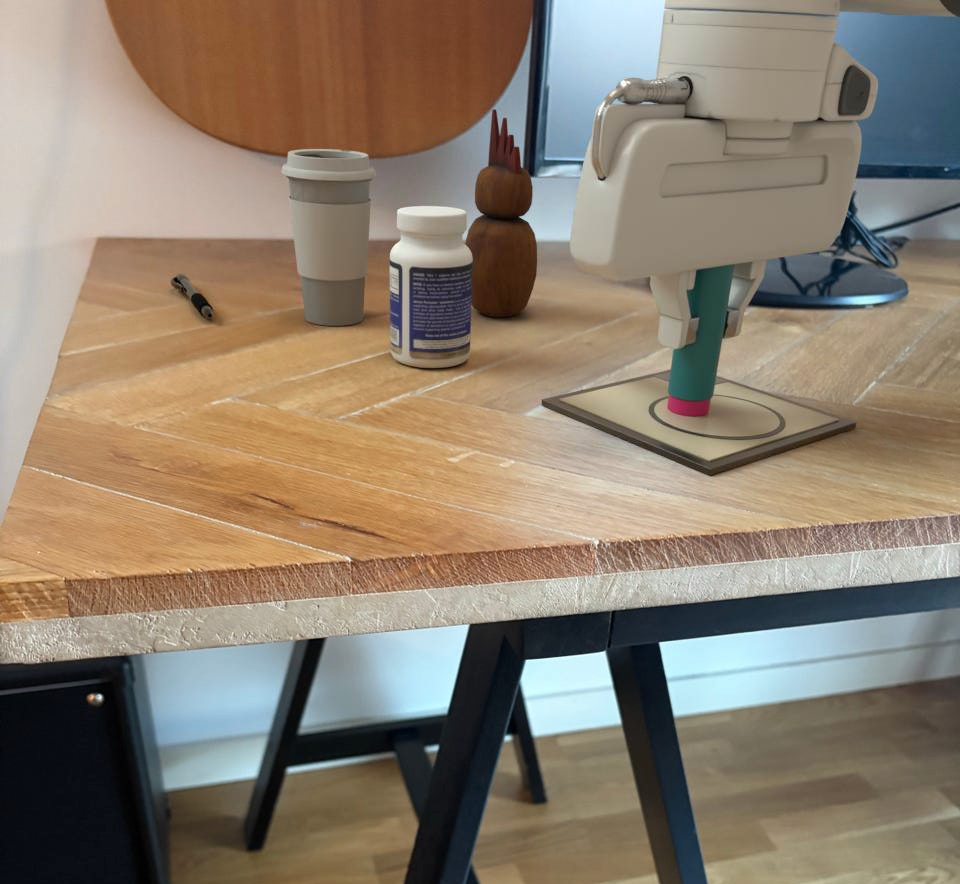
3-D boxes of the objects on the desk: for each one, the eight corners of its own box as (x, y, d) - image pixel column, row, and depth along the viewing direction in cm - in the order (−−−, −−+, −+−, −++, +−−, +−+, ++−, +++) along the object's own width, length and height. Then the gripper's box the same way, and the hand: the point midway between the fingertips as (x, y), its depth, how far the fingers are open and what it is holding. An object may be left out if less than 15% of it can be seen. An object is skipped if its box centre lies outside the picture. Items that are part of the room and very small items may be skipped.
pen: (167, 283, 87) (165, 270, 87) (186, 282, 88) (185, 269, 87) (196, 323, 76) (194, 308, 76) (218, 322, 77) (216, 307, 76)
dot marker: (685, 399, 64) (714, 207, 58) (720, 412, 62) (754, 214, 56) (654, 407, 62) (681, 210, 56) (690, 420, 61) (721, 218, 55)
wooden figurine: (457, 302, 86) (462, 106, 78) (522, 302, 87) (533, 109, 79) (471, 322, 81) (478, 114, 73) (540, 322, 82) (554, 116, 74)
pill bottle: (484, 356, 72) (490, 209, 67) (442, 375, 68) (445, 220, 63) (418, 343, 75) (419, 200, 70) (374, 360, 71) (371, 209, 65)
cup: (392, 315, 82) (391, 153, 75) (353, 334, 76) (349, 161, 70) (316, 304, 84) (309, 146, 77) (273, 321, 78) (262, 153, 72)
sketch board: (685, 371, 71) (687, 363, 71) (855, 428, 62) (857, 419, 62) (541, 405, 64) (541, 396, 63) (710, 475, 55) (712, 466, 54)
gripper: (649, 81, 45) (615, 382, 52) (897, 83, 56) (840, 331, 64) (555, 73, 49) (535, 353, 56) (803, 76, 60) (760, 309, 68)
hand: (699, 341), depth 60 cm, fingers closed on dot marker, 3 cm apart
